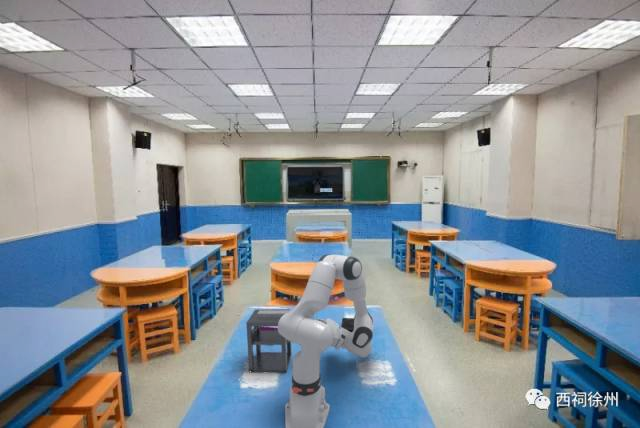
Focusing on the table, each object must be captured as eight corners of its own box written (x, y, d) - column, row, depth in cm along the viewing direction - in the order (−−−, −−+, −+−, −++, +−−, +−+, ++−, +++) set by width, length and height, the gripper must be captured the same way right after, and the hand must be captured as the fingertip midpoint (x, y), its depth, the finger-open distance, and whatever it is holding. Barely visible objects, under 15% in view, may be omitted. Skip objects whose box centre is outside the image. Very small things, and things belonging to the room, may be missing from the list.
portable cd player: (367, 323, 206) (367, 318, 206) (368, 336, 189) (368, 330, 189) (342, 323, 208) (342, 317, 208) (341, 335, 191) (341, 329, 191)
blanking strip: (304, 317, 157) (304, 313, 157) (257, 317, 159) (257, 313, 159) (305, 314, 161) (304, 310, 161) (259, 314, 163) (259, 310, 163)
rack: (287, 372, 154) (285, 322, 152) (249, 372, 156) (246, 322, 153) (292, 355, 170) (290, 309, 168) (257, 354, 172) (255, 309, 169)
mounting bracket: (269, 340, 199) (257, 341, 182) (271, 326, 201) (259, 326, 185) (283, 342, 196) (272, 343, 180) (285, 328, 199) (274, 328, 183)
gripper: (343, 322, 169) (321, 310, 169) (343, 341, 149) (318, 327, 149) (338, 332, 170) (315, 320, 170) (337, 352, 149) (312, 338, 150)
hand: (317, 323), depth 159 cm, fingers open, 8 cm apart
